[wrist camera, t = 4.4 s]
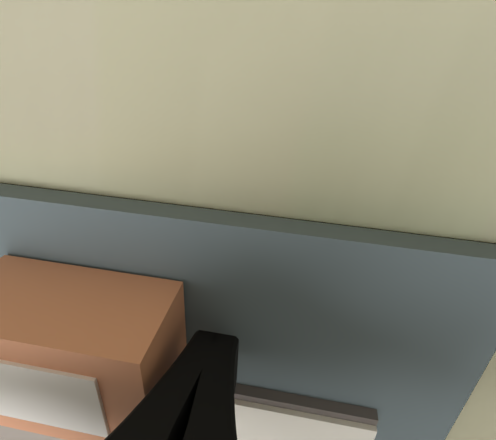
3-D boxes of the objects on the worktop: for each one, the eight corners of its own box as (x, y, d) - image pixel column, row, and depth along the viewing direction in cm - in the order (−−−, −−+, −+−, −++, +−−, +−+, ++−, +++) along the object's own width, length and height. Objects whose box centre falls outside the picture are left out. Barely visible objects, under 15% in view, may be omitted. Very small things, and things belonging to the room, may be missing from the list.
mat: (382, 522, 17) (385, 543, 16) (-97, 415, 20) (-112, 428, 20) (526, 247, 9) (544, 265, 8) (-291, 147, 12) (-326, 154, 12)
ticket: (336, 516, 16) (337, 536, 15) (-17, 436, 18) (-29, 451, 17) (376, 409, 12) (379, 429, 11) (-80, 324, 14) (-98, 338, 14)
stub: (188, 369, 12) (152, 463, 10) (35, 341, 13) (-37, 421, 11) (183, 281, 11) (137, 368, 8) (4, 254, 11) (-93, 325, 9)
